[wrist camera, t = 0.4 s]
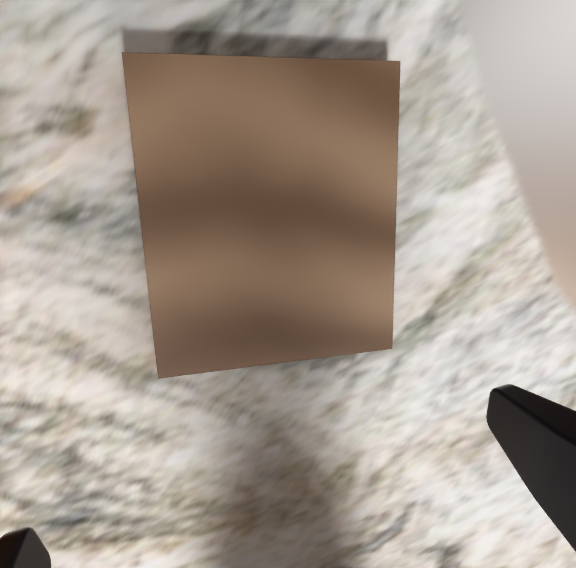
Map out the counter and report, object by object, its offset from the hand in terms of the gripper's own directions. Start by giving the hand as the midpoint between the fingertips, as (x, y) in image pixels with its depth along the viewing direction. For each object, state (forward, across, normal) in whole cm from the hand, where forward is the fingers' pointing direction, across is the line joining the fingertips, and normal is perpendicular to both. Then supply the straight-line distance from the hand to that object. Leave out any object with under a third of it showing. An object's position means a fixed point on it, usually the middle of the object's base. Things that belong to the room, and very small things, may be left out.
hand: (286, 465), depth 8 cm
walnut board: (+14, -3, 0) cm, 14 cm away
